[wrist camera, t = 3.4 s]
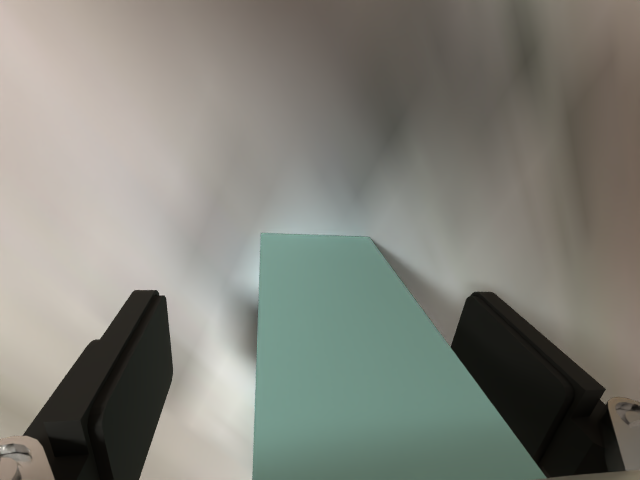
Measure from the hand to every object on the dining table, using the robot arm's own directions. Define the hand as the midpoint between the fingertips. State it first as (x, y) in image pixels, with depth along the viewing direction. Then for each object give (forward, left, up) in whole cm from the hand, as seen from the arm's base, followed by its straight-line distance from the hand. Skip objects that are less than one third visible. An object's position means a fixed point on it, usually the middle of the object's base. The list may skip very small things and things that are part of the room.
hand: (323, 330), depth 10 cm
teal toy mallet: (+9, 0, -3) cm, 10 cm away
